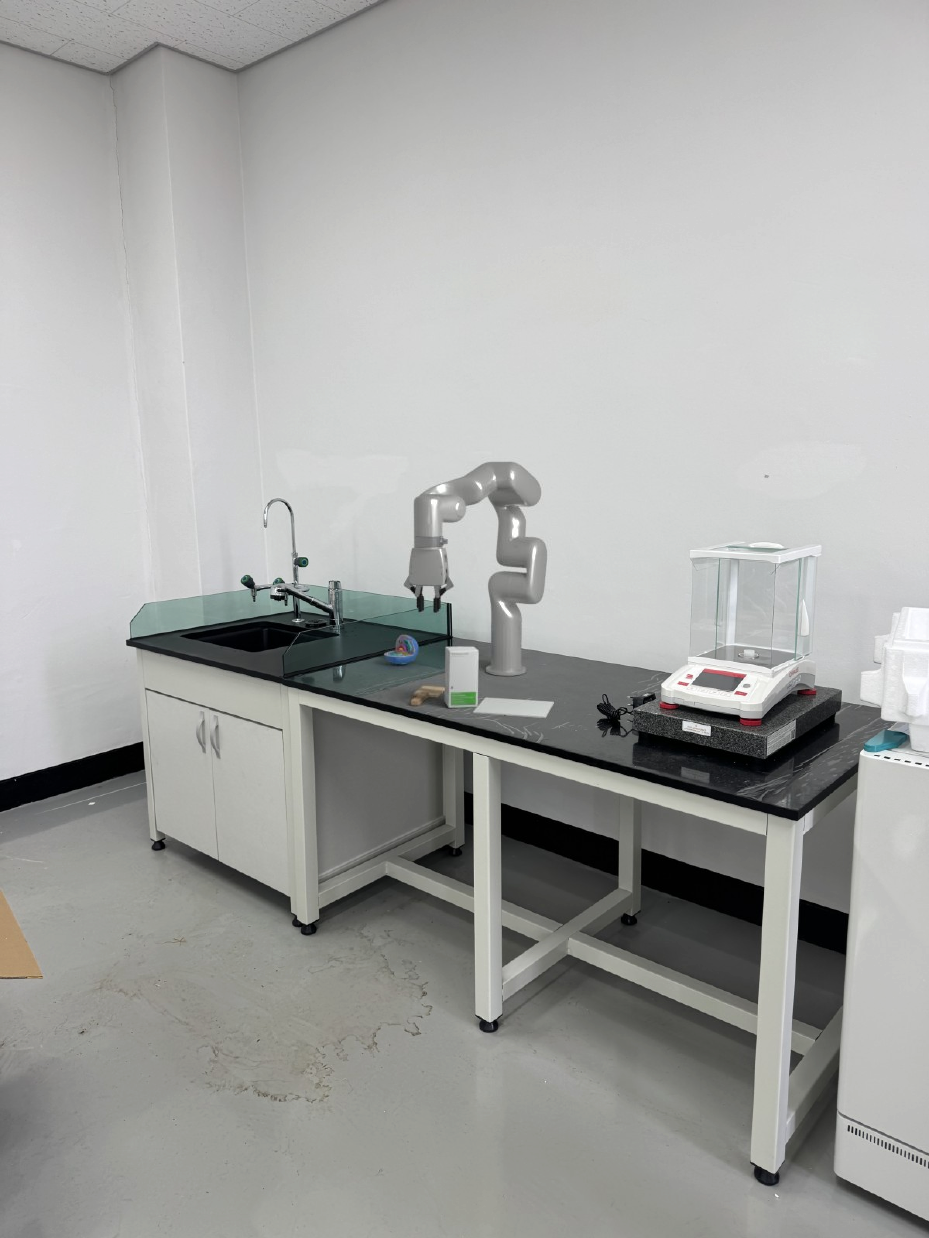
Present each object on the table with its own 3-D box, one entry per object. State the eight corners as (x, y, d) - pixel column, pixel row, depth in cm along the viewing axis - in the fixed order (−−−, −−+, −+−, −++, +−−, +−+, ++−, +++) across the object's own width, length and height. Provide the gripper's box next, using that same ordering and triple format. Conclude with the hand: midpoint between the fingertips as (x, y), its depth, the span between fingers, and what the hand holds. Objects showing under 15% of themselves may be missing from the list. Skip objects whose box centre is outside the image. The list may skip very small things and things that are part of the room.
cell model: (377, 664, 283) (377, 635, 281) (406, 659, 291) (406, 631, 289) (396, 669, 276) (396, 640, 274) (425, 664, 284) (425, 635, 282)
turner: (423, 687, 254) (423, 683, 253) (446, 689, 252) (446, 685, 252) (402, 704, 234) (402, 700, 234) (426, 706, 233) (426, 701, 233)
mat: (485, 698, 241) (485, 697, 240) (553, 703, 236) (553, 701, 236) (472, 713, 226) (472, 711, 226) (545, 718, 222) (545, 716, 222)
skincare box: (448, 708, 231) (448, 651, 228) (443, 702, 237) (443, 646, 234) (479, 707, 232) (479, 650, 230) (474, 700, 239) (474, 645, 236)
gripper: (462, 542, 231) (462, 610, 234) (402, 541, 235) (403, 608, 238) (455, 544, 224) (455, 615, 227) (393, 543, 228) (394, 612, 231)
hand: (428, 610), depth 232 cm, fingers open, 3 cm apart
